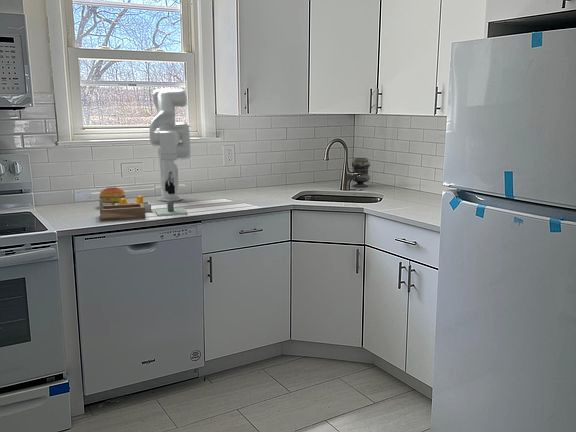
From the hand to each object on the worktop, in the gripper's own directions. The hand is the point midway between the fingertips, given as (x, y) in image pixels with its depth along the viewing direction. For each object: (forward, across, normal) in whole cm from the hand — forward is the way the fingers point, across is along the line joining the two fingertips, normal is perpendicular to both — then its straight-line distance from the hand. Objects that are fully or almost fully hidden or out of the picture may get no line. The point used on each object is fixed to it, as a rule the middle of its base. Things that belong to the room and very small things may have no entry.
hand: (170, 192), depth 275 cm
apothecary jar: (+9, -47, +126) cm, 135 cm away
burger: (+10, -29, -26) cm, 40 cm away
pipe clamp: (+10, -13, -17) cm, 24 cm away
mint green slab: (+11, -1, 0) cm, 11 cm away
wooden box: (+10, +1, -23) cm, 25 cm away
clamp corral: (+10, -13, -17) cm, 23 cm away
